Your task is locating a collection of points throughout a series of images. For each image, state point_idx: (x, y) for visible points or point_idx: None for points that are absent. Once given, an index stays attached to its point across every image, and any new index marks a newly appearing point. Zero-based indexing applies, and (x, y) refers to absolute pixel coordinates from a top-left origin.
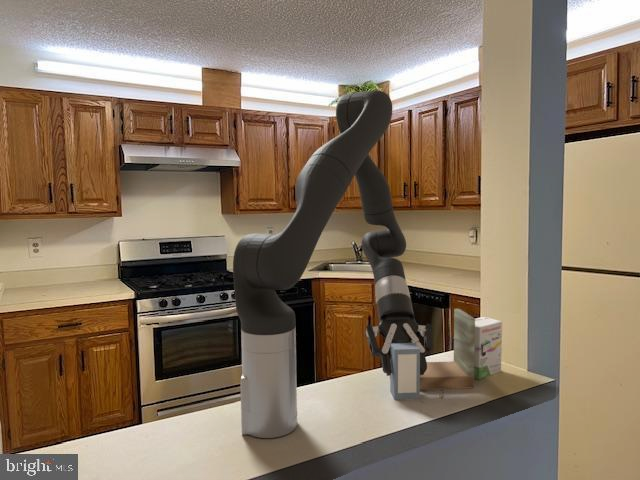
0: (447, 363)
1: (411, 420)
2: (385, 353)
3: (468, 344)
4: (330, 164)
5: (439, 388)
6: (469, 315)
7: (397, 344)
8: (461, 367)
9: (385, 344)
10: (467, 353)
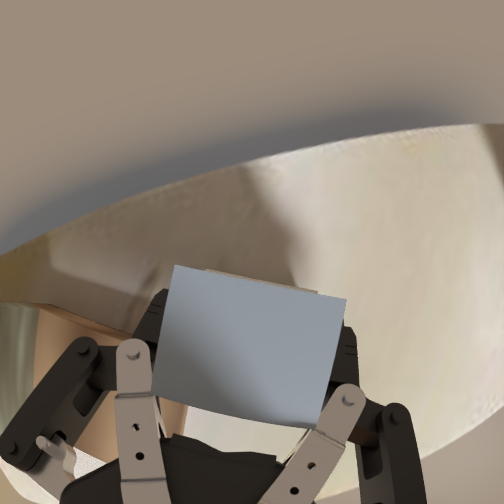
0: None
1: (305, 167)
2: (348, 384)
3: None
4: None
5: (127, 333)
6: None
7: (279, 397)
8: (30, 363)
9: (340, 434)
10: None
